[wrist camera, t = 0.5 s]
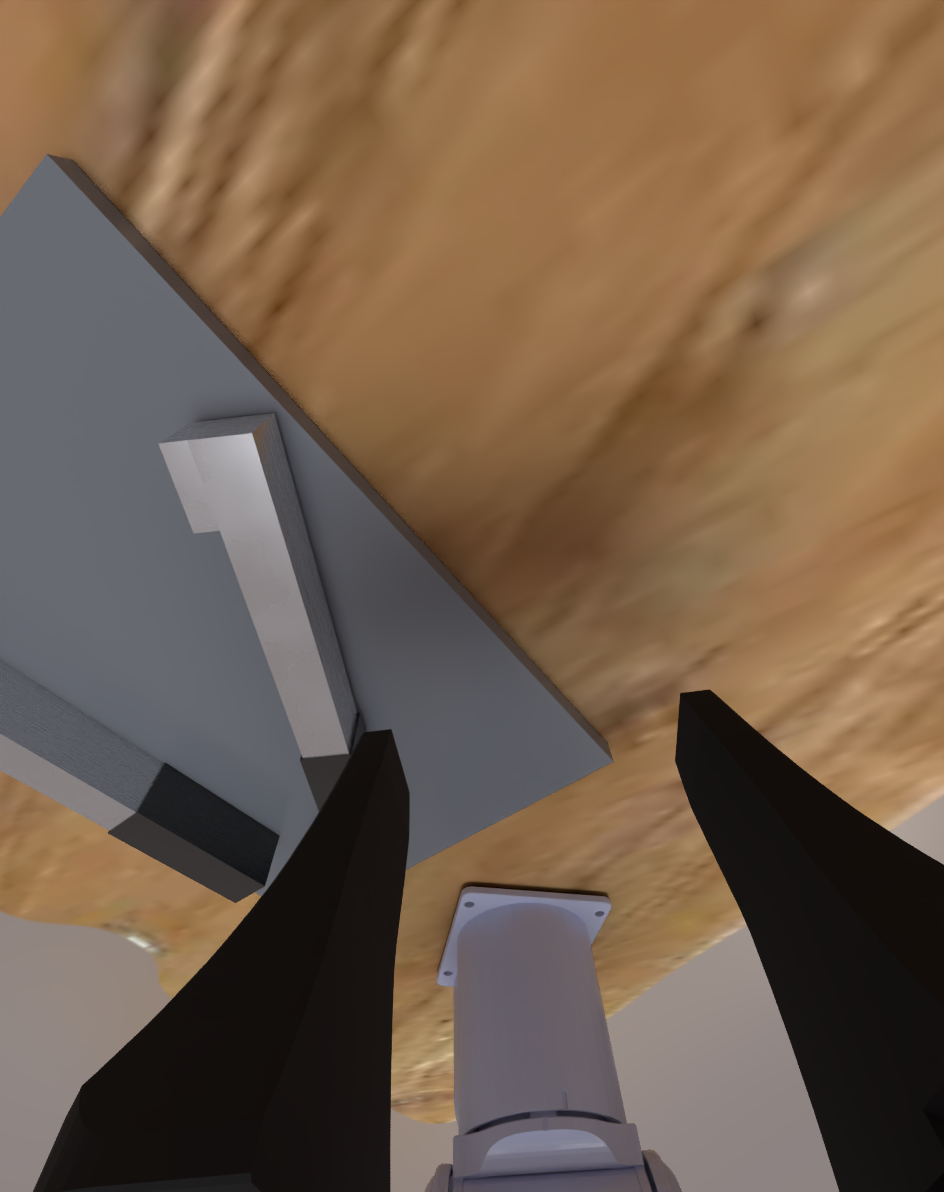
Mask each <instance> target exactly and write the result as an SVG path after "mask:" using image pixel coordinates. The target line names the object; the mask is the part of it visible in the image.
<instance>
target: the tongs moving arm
mask: <svg viewBox="0 0 944 1192" xmlns="http://www.w3.org/2000/svg"><path fill="white" fill-rule="evenodd" d="M158 444H159V447H160V449H161V452H162V454H163V457H164V459H165V462H166V464H167V467H168V469H169V472H170V475H171V477H172V480H173V482H174V485H175V487H176V490H177V492H178V495H179V498H180V500H181V503H182V505H183V508H184V510H185V513H186V515H187V518H188V520H189V523H190V526H191V528H192V531H193V533H203V532H212V531H220V533H221V536H222V538H223V541H224V544H225V547H226V549H227V552H228V555H229V557H230V560H231V563H232V566H233V568H234V571H235V574H236V577H237V579H238V582H239V585H240V588H241V590H242V593H243V596H244V599H245V601H246V604H247V607H248V610H249V612H250V615H251V618H252V620H253V623H254V626H255V629H256V631H257V634H258V637H259V640H260V642H261V645H262V648H263V651H264V653H265V656H266V659H267V662H268V664H269V667H270V670H271V672H272V675H273V678H274V681H275V683H276V686H277V689H278V692H279V694H280V697H281V700H282V703H283V705H284V708H285V711H286V714H287V716H288V719H289V722H290V725H291V727H292V730H293V733H294V735H295V738H296V741H297V744H298V746H299V749H300V752H301V758H300V762H301V765H302V767H303V770H304V773H305V776H306V778H307V781H308V784H309V786H310V789H311V792H312V794H313V797H314V800H315V803H316V805H317V808H318V811H320V809H321V808H322V806H323V804H324V802H325V801H326V799H327V797H328V796H329V794H330V792H331V791H332V789H333V787H334V785H335V783H336V782H337V780H338V778H339V776H340V774H341V773H342V771H343V769H344V767H345V765H346V763H347V761H348V759H349V757H350V755H351V754H352V752H353V750H354V748H355V746H356V744H357V742H358V740H359V738H360V736H361V735H362V734H363V733H364V732H365V728H364V724H363V721H362V717H361V713H360V712H359V713H357V710H356V707H355V703H354V700H353V696H352V692H351V689H350V685H349V682H348V678H347V674H346V671H345V667H344V663H343V660H342V656H341V653H340V649H339V645H338V642H337V638H336V635H335V631H334V627H333V624H332V620H331V617H330V613H329V609H328V606H327V602H326V598H325V595H324V591H323V588H322V584H321V580H320V577H319V573H318V570H317V566H316V562H315V559H314V555H313V552H312V548H311V544H310V541H309V537H308V533H307V530H306V526H305V523H304V519H303V515H302V512H301V508H300V505H299V501H298V497H297V494H296V490H295V487H294V483H293V479H292V476H291V472H290V469H289V465H288V461H287V458H286V454H285V450H284V447H283V443H282V440H281V436H280V432H279V429H278V425H277V422H276V418H275V414H274V413H272V414H263V415H254V416H245V417H236V418H227V419H218V420H209V421H200V422H191V423H189V424H188V425H186V426H185V427H183V428H182V429H180V430H179V431H177V432H175V433H174V434H172V435H171V436H169V437H168V438H166V439H165V440H163V441H161V442H160V443H158Z"/></svg>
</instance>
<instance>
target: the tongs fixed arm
mask: <svg viewBox="0 0 944 1192" xmlns="http://www.w3.org/2000/svg"><path fill="white" fill-rule="evenodd" d="M0 771H2V772H4V773H6V774H8V775H10V776H11V777H13V778H15V779H17V780H19V781H20V782H22V783H24V784H26V785H28V786H30V787H31V788H33V789H35V790H37V791H39V792H40V793H42V794H44V795H46V796H48V797H50V798H51V799H53V800H55V801H57V802H59V803H60V804H62V805H64V806H66V807H68V808H70V809H71V810H73V811H75V812H77V813H79V814H80V815H82V816H84V817H86V818H88V819H89V820H91V821H93V822H95V823H97V824H99V825H100V826H102V827H104V828H106V829H108V830H109V832H108V834H110V835H112V836H114V837H116V838H118V839H119V840H121V841H123V842H125V843H127V844H129V845H130V846H132V847H134V848H136V849H138V850H140V851H141V852H143V853H145V854H147V855H149V856H150V857H152V858H154V859H156V860H158V861H160V862H161V863H163V864H165V865H167V866H169V867H171V868H172V869H174V870H176V871H178V872H180V873H182V874H183V875H185V876H187V877H189V878H191V879H193V880H194V881H196V882H198V883H200V884H202V885H203V886H205V887H207V888H209V889H211V890H213V891H214V892H216V893H218V894H220V895H222V896H224V897H225V898H227V899H229V900H231V901H233V902H235V903H236V902H238V901H240V900H242V899H243V898H245V897H247V896H249V895H251V894H252V893H254V892H256V891H258V890H259V889H261V888H263V887H265V884H266V881H267V878H268V874H269V871H270V867H271V864H272V861H273V857H274V854H275V850H276V847H277V844H278V840H279V837H280V835H278V834H277V833H275V832H274V831H272V830H270V829H269V828H267V827H266V826H264V825H263V824H261V823H259V822H258V821H256V820H255V819H253V818H252V817H250V816H248V815H247V814H245V813H244V812H242V811H241V810H239V809H238V808H236V807H234V806H233V805H231V804H230V803H228V802H227V801H225V800H223V799H222V798H220V797H219V796H217V795H216V794H214V793H212V792H211V791H209V790H208V789H206V788H205V787H203V786H202V785H200V784H198V783H197V782H195V781H194V780H192V779H191V778H189V777H187V776H186V775H184V774H183V773H181V772H180V771H178V770H177V769H175V768H173V767H172V766H170V765H169V764H167V763H162V762H161V761H159V760H158V759H156V758H154V757H153V756H151V755H150V754H148V753H147V752H145V751H143V750H142V749H140V748H139V747H137V746H136V745H134V744H132V743H131V742H129V741H128V740H126V739H125V738H123V737H121V736H120V735H118V734H117V733H115V732H114V731H112V730H110V729H109V728H107V727H106V726H104V725H103V724H101V723H99V722H98V721H96V720H95V719H93V718H92V717H90V716H88V715H87V714H85V713H84V712H82V711H81V710H79V709H77V708H76V707H74V706H73V705H71V704H70V703H68V702H66V701H65V700H63V699H62V698H60V697H59V696H57V695H56V694H54V693H52V692H51V691H49V690H48V689H46V688H45V687H43V686H41V685H40V684H38V683H37V682H35V681H34V680H32V679H30V678H29V677H27V676H26V675H24V674H23V673H21V672H19V671H18V670H16V669H15V668H13V667H12V666H10V665H8V664H7V663H5V662H4V661H2V660H1V659H0Z"/></svg>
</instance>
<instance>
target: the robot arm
mask: <svg viewBox="0 0 944 1192" xmlns="http://www.w3.org/2000/svg"><path fill="white" fill-rule="evenodd" d="M675 762H676V765H677V768H678V771H679V774H680V777H681V780H682V783H683V786H684V789H685V792H686V794H687V797H688V800H689V803H690V806H691V808H692V810H693V812H694V814H695V817H696V819H697V821H698V823H699V825H700V827H701V829H702V831H703V833H704V836H705V838H706V840H707V842H708V844H709V846H710V848H711V850H712V852H713V854H714V856H715V858H716V861H717V863H718V865H719V867H720V869H721V871H722V873H723V875H724V877H725V879H726V881H727V883H728V885H729V887H730V889H731V892H732V894H733V896H734V898H735V900H736V902H737V904H738V906H739V908H740V910H741V912H742V915H743V917H744V919H745V922H746V924H747V926H748V928H749V931H750V933H751V936H752V938H753V941H754V943H755V946H756V949H757V951H758V954H759V957H760V959H761V962H762V965H763V967H764V970H765V973H766V975H767V978H768V980H769V983H770V986H771V989H772V991H773V994H774V997H775V1000H776V1003H777V1005H778V1008H779V1011H780V1014H781V1017H782V1019H783V1022H784V1025H785V1028H786V1031H787V1033H788V1036H789V1039H790V1042H791V1044H792V1048H793V1051H794V1054H795V1056H796V1059H797V1062H798V1065H799V1068H800V1071H801V1074H802V1077H803V1080H804V1083H805V1086H806V1089H807V1092H808V1095H809V1098H810V1101H811V1104H812V1107H813V1110H814V1113H815V1116H816V1119H817V1122H818V1125H819V1128H820V1132H821V1134H822V1138H823V1141H824V1144H825V1147H826V1150H827V1153H828V1157H829V1160H830V1163H831V1166H832V1169H833V1172H834V1176H835V1179H836V1182H837V1185H838V1188H839V1192H944V865H943V864H941V863H940V862H938V861H936V860H935V859H933V858H931V857H929V856H928V855H926V854H924V853H923V852H921V851H920V850H918V849H916V848H914V847H913V846H911V845H910V844H908V843H906V842H905V841H903V840H902V839H900V838H899V837H897V836H896V835H894V834H893V833H891V832H889V831H888V830H886V829H885V828H883V827H882V826H880V825H879V824H877V823H876V822H874V821H873V820H871V819H870V818H868V817H867V816H865V815H864V814H862V813H861V812H859V811H858V810H856V809H855V808H854V807H852V806H851V805H849V804H848V803H847V802H845V801H844V800H842V799H841V798H840V797H838V796H837V795H836V794H834V793H833V792H832V791H830V790H829V789H828V788H826V787H825V786H824V785H822V784H821V783H820V782H818V781H817V780H816V779H815V778H813V777H812V776H811V775H809V774H808V773H807V772H806V771H804V770H803V769H802V768H801V767H799V766H798V765H797V764H796V763H794V762H793V761H792V760H791V759H790V758H788V757H787V756H786V755H785V754H783V753H782V752H781V751H780V750H779V749H777V748H776V747H775V746H774V745H773V744H771V743H770V742H769V741H768V740H767V739H765V738H764V737H763V736H762V735H761V734H760V733H759V732H757V731H756V730H755V729H754V728H753V727H752V726H750V725H749V724H748V723H747V722H746V721H745V720H744V719H743V718H741V717H740V716H739V715H738V714H737V713H736V712H735V711H734V710H732V709H731V708H730V707H729V706H728V705H727V704H726V703H725V702H724V701H722V700H721V699H720V698H719V697H718V696H717V695H716V694H714V693H713V692H712V691H711V690H702V691H694V692H686V693H680V705H679V718H678V731H677V744H676V757H675ZM409 826H410V792H409V788H408V785H407V781H406V778H405V774H404V771H403V767H402V764H401V760H400V757H399V753H398V750H397V747H396V743H395V740H394V736H393V733H392V729H387V730H379V731H371V732H364V733H363V734H362V735H361V736H360V738H359V740H358V742H357V744H356V746H355V748H354V750H353V752H352V754H351V755H350V757H349V759H348V761H347V763H346V765H345V767H344V769H343V771H342V773H341V774H340V776H339V778H338V780H337V782H336V783H335V785H334V787H333V789H332V791H331V792H330V794H329V796H328V797H327V799H326V801H325V802H324V804H323V806H322V808H321V809H320V811H319V813H318V814H317V816H316V818H315V819H314V821H313V823H312V824H311V826H310V827H309V829H308V830H307V832H306V833H305V835H304V837H303V838H302V840H301V841H300V843H299V844H298V846H297V847H296V849H295V850H294V852H293V853H292V855H291V856H290V858H289V859H288V861H287V862H286V864H285V865H284V867H283V868H282V869H281V871H280V872H279V874H278V875H277V876H276V878H275V879H274V881H273V882H272V883H271V885H270V886H269V887H268V889H267V890H266V891H265V893H264V894H263V895H262V896H261V898H260V899H259V900H258V902H257V903H256V904H255V906H254V907H253V908H252V909H251V911H250V912H249V913H248V914H247V916H246V917H245V918H244V919H243V920H242V922H241V923H240V924H239V925H238V926H237V928H236V929H235V930H234V931H233V933H232V934H231V935H230V936H229V937H228V939H227V940H226V941H225V942H224V943H223V944H222V946H221V947H220V948H219V949H218V950H217V951H216V953H215V954H214V955H213V956H212V957H211V958H210V959H209V960H208V962H207V963H206V964H205V965H204V966H203V967H202V968H201V969H200V970H199V971H198V972H197V973H196V974H195V975H194V976H193V978H192V979H191V980H190V981H189V982H188V983H187V984H186V985H185V986H184V987H183V988H182V989H181V990H180V991H179V992H178V993H177V995H176V996H175V997H174V998H173V999H172V1000H171V1001H170V1002H169V1003H168V1004H167V1005H166V1006H165V1008H163V1009H162V1010H161V1011H160V1012H159V1013H158V1014H157V1016H155V1017H154V1018H153V1019H152V1020H151V1021H150V1022H149V1023H148V1024H147V1025H146V1026H145V1027H144V1028H143V1029H142V1030H141V1031H140V1032H139V1033H138V1034H137V1035H136V1036H135V1037H134V1038H133V1039H132V1040H130V1041H129V1042H128V1043H127V1044H126V1045H125V1046H124V1047H123V1048H122V1049H121V1050H120V1051H119V1052H118V1053H117V1054H116V1055H115V1056H114V1057H113V1058H111V1059H110V1060H109V1061H108V1062H107V1063H106V1064H105V1065H104V1066H103V1067H102V1068H101V1069H100V1070H99V1071H98V1072H97V1073H96V1074H94V1075H93V1076H92V1077H91V1078H90V1079H89V1080H88V1081H87V1082H86V1083H84V1084H83V1085H82V1087H81V1089H80V1091H79V1093H78V1095H77V1097H76V1099H75V1101H74V1103H73V1105H72V1107H71V1108H70V1110H69V1112H68V1114H67V1116H66V1118H65V1120H64V1123H63V1125H62V1127H61V1129H60V1132H59V1134H58V1136H57V1138H56V1141H55V1143H54V1145H53V1147H52V1150H51V1152H50V1154H49V1156H48V1159H47V1161H46V1163H45V1166H44V1168H43V1170H42V1172H41V1175H40V1177H39V1179H38V1181H37V1184H36V1186H35V1188H34V1190H33V1192H390V1115H391V1054H392V1015H393V987H394V966H395V955H396V944H397V936H398V928H399V920H400V912H401V904H402V896H403V888H404V880H405V871H406V863H407V855H408V846H409ZM611 907H612V906H611V902H610V899H609V898H607V897H604V896H593V895H580V894H566V893H553V892H540V891H526V890H513V889H500V888H486V887H473V886H471V887H466V888H464V889H463V890H462V891H461V894H460V898H459V901H458V905H457V908H456V912H455V915H454V918H453V922H452V925H451V929H450V932H449V936H448V939H447V942H446V946H445V949H444V953H443V956H442V960H441V963H440V966H439V970H438V973H437V983H438V984H439V985H441V986H454V1106H455V1114H456V1120H457V1123H458V1127H459V1135H457V1136H454V1137H453V1165H452V1164H441V1165H439V1166H438V1167H437V1169H436V1172H435V1175H434V1176H433V1177H432V1179H431V1180H430V1182H429V1183H428V1185H427V1187H426V1189H425V1192H682V1191H681V1188H680V1186H679V1184H678V1181H677V1179H676V1177H675V1175H674V1174H673V1172H672V1171H671V1170H670V1169H669V1168H668V1166H667V1165H666V1164H665V1163H664V1162H663V1161H662V1160H661V1158H660V1156H659V1155H658V1154H657V1153H656V1152H655V1151H654V1150H644V1151H641V1146H640V1142H639V1137H638V1132H637V1128H636V1125H635V1124H627V1122H626V1117H625V1111H624V1107H623V1101H622V1097H621V1092H620V1087H619V1082H618V1077H617V1072H616V1067H615V1063H614V1058H613V1052H612V1047H611V1042H610V1037H609V1033H608V1028H607V1023H606V1018H605V1013H604V1008H603V1003H602V998H601V993H600V988H599V983H598V979H597V974H596V969H595V964H594V959H593V954H592V949H591V945H592V943H593V941H594V939H595V938H596V936H597V934H598V932H599V930H600V928H601V926H602V925H603V923H604V921H605V919H606V917H607V915H608V913H609V912H610V910H611Z"/></svg>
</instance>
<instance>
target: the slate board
mask: <svg viewBox="0 0 944 1192" xmlns="http://www.w3.org/2000/svg"><path fill="white" fill-rule="evenodd" d="M272 413H274V414H275V418H276V422H277V425H278V429H279V432H280V436H281V440H282V443H283V447H284V450H285V454H286V458H287V461H288V465H289V469H290V472H291V476H292V479H293V483H294V487H295V490H296V494H297V497H298V501H299V505H300V508H301V512H302V515H303V519H304V523H305V526H306V530H307V533H308V537H309V541H310V544H311V548H312V552H313V555H314V559H315V562H316V566H317V570H318V573H319V577H320V580H321V584H322V588H323V591H324V595H325V598H326V602H327V606H328V609H329V613H330V617H331V620H332V624H333V627H334V631H335V635H336V638H337V642H338V645H339V649H340V653H341V656H342V660H343V663H344V667H345V671H346V674H347V678H348V682H349V685H350V689H351V692H352V696H353V700H354V703H355V707H356V710H357V713H359V712H360V713H361V717H362V721H363V724H364V728H365V732H371V731H379V730H387V729H392V733H393V736H394V740H395V743H396V747H397V750H398V753H399V757H400V760H401V764H402V767H403V771H404V774H405V778H406V781H407V785H408V788H409V792H410V826H409V846H408V855H407V863H406V869H408V868H410V867H412V866H414V865H416V864H418V863H419V862H421V861H423V860H425V859H427V858H429V857H431V856H433V855H435V854H437V853H439V852H441V851H443V850H444V849H446V848H448V847H450V846H452V845H454V844H456V843H458V842H460V841H462V840H464V839H466V838H467V837H469V836H471V835H473V834H475V833H477V832H479V831H481V830H483V829H485V828H487V827H489V826H491V825H492V824H494V823H496V822H498V821H500V820H502V819H504V818H506V817H508V816H510V815H512V814H514V813H516V812H517V811H519V810H521V809H523V808H525V807H527V806H529V805H531V804H533V803H535V802H537V801H539V800H541V799H542V798H544V797H546V796H548V795H550V794H552V793H554V792H556V791H558V790H560V789H562V788H564V787H566V786H567V785H569V784H571V783H573V782H575V781H577V780H579V779H581V778H583V777H585V776H587V775H589V774H591V773H592V772H594V771H596V770H598V769H600V768H602V767H604V766H606V765H608V764H610V763H612V762H613V758H612V755H611V752H610V749H609V746H608V743H607V742H606V741H605V740H604V739H603V738H602V737H601V736H600V735H599V734H598V732H597V731H596V730H595V729H594V728H593V727H592V726H591V725H590V724H589V723H588V722H587V720H586V719H585V718H584V717H583V716H582V715H581V714H580V713H579V712H578V711H577V710H576V708H575V707H574V706H573V705H572V704H571V703H570V702H569V701H568V700H567V699H566V698H565V696H564V695H563V694H562V693H561V692H560V691H559V690H558V689H557V688H556V687H555V686H554V684H553V683H552V682H551V681H550V680H549V679H548V678H547V677H546V676H545V675H544V674H543V672H542V671H541V670H540V669H539V668H538V667H537V666H536V665H535V664H534V663H533V662H532V660H531V659H530V658H529V657H528V656H527V655H526V654H525V653H524V652H523V651H522V650H521V648H520V647H519V646H518V645H517V644H516V643H515V642H514V641H513V640H512V639H511V638H510V637H509V635H508V634H507V633H506V632H505V631H504V630H503V629H502V628H501V627H500V626H499V625H498V623H497V622H496V621H495V620H494V619H493V618H492V617H491V616H490V615H489V614H488V613H487V611H486V610H485V609H484V608H483V607H482V606H481V605H480V604H479V603H478V602H477V601H476V599H475V598H474V597H473V596H472V595H471V594H470V593H469V592H468V591H467V590H466V589H465V587H464V586H463V585H462V584H461V583H460V582H459V581H458V580H457V579H456V578H455V577H454V575H453V574H452V573H451V572H450V571H449V570H448V569H447V568H446V567H445V566H444V565H443V563H442V562H441V561H440V560H439V559H438V558H437V557H436V556H435V555H434V554H433V553H432V551H431V550H430V549H429V548H428V547H427V546H426V545H425V544H424V543H423V542H422V541H421V540H420V538H419V537H418V536H417V535H416V534H415V533H414V532H413V531H412V530H411V529H410V528H409V526H408V525H407V524H406V523H405V522H404V521H403V520H402V519H401V518H400V517H399V516H398V514H397V513H396V512H395V511H394V510H393V509H392V508H391V507H390V506H389V505H388V504H387V502H386V501H385V500H384V499H383V498H382V497H381V496H380V495H379V494H378V493H377V492H376V490H375V489H374V488H373V487H372V486H371V485H370V484H369V483H368V482H367V481H366V480H365V478H364V477H363V476H362V475H361V474H360V473H359V472H358V471H357V470H356V469H355V468H354V466H353V465H352V464H351V463H350V462H349V461H348V460H347V459H346V458H345V457H344V456H343V454H342V453H341V452H340V451H339V450H338V449H337V448H336V447H335V446H334V445H333V444H332V443H331V441H330V440H329V439H328V438H327V437H326V436H325V435H324V434H323V433H322V432H321V431H320V429H319V428H318V427H317V426H316V425H315V424H314V423H313V422H312V421H311V420H310V419H309V417H308V416H307V415H306V414H305V413H304V412H303V411H302V410H301V409H300V408H299V407H298V405H297V404H296V403H295V402H294V401H293V400H292V399H291V398H290V397H289V396H288V395H287V393H286V392H285V391H284V390H283V389H282V388H281V387H280V386H279V385H278V384H277V383H276V381H275V380H274V379H273V378H272V377H271V376H270V375H269V374H268V373H267V372H266V371H265V369H264V368H263V367H262V366H261V365H260V364H259V363H258V362H257V361H256V360H255V359H254V357H253V356H252V355H251V354H250V353H249V352H248V351H247V350H246V349H245V348H244V347H243V346H242V344H241V343H240V342H239V341H238V340H237V339H236V338H235V337H234V336H233V335H232V334H231V332H230V331H229V330H228V329H227V328H226V327H225V326H224V325H223V324H222V323H221V322H220V320H219V319H218V318H217V317H216V316H215V315H214V314H213V313H212V312H211V311H210V310H209V308H208V307H207V306H206V305H205V304H204V303H203V302H202V301H201V300H200V299H199V298H198V296H197V295H196V294H195V293H194V292H193V291H192V290H191V289H190V288H189V287H188V286H187V284H186V283H185V282H184V281H183V280H182V279H181V278H180V277H179V276H178V275H177V274H176V272H175V271H174V270H173V269H172V268H171V267H170V266H169V265H168V264H167V263H166V262H165V260H164V259H163V258H162V257H161V256H160V255H159V254H158V253H157V252H156V251H155V250H154V249H153V247H152V246H151V245H150V244H149V243H148V242H147V241H146V240H145V239H144V238H143V237H142V235H141V234H140V233H139V232H138V231H137V230H136V229H135V228H134V227H133V226H132V225H131V223H130V222H129V221H128V220H127V219H126V218H125V217H124V216H123V215H122V214H121V213H120V211H119V210H118V209H117V208H116V207H115V206H114V205H113V204H112V203H111V202H110V201H109V199H108V198H107V197H106V196H105V195H104V194H103V193H102V192H101V191H100V190H99V189H98V187H97V186H96V185H95V184H94V183H93V182H92V181H91V180H90V179H89V178H88V177H87V175H86V174H85V173H84V172H83V171H82V170H81V169H80V168H79V167H78V166H77V165H76V163H75V162H74V161H73V160H69V159H65V158H61V157H57V156H53V155H49V154H47V155H46V156H45V157H44V159H43V160H42V161H41V163H40V164H39V165H38V167H37V168H36V170H35V171H34V172H33V174H32V175H31V176H30V178H29V179H28V180H27V182H26V183H25V184H24V186H23V187H22V188H21V190H20V191H19V193H18V194H17V195H16V197H15V198H14V199H13V201H12V202H11V203H10V205H9V206H8V207H7V209H6V210H5V211H4V213H3V214H2V216H1V217H0V659H1V660H2V661H4V662H5V663H7V664H8V665H10V666H12V667H13V668H15V669H16V670H18V671H19V672H21V673H23V674H24V675H26V676H27V677H29V678H30V679H32V680H34V681H35V682H37V683H38V684H40V685H41V686H43V687H45V688H46V689H48V690H49V691H51V692H52V693H54V694H56V695H57V696H59V697H60V698H62V699H63V700H65V701H66V702H68V703H70V704H71V705H73V706H74V707H76V708H77V709H79V710H81V711H82V712H84V713H85V714H87V715H88V716H90V717H92V718H93V719H95V720H96V721H98V722H99V723H101V724H103V725H104V726H106V727H107V728H109V729H110V730H112V731H114V732H115V733H117V734H118V735H120V736H121V737H123V738H125V739H126V740H128V741H129V742H131V743H132V744H134V745H136V746H137V747H139V748H140V749H142V750H143V751H145V752H147V753H148V754H150V755H151V756H153V757H154V758H156V759H158V760H159V761H161V762H162V763H167V764H169V765H170V766H172V767H173V768H175V769H177V770H178V771H180V772H181V773H183V774H184V775H186V776H187V777H189V778H191V779H192V780H194V781H195V782H197V783H198V784H200V785H202V786H203V787H205V788H206V789H208V790H209V791H211V792H212V793H214V794H216V795H217V796H219V797H220V798H222V799H223V800H225V801H227V802H228V803H230V804H231V805H233V806H234V807H236V808H238V809H239V810H241V811H242V812H244V813H245V814H247V815H248V816H250V817H252V818H253V819H255V820H256V821H258V822H259V823H261V824H263V825H264V826H266V827H267V828H269V829H270V830H272V831H274V832H275V833H277V834H278V835H280V837H279V840H278V844H277V847H276V850H275V854H274V857H273V861H272V864H271V867H270V871H269V874H268V878H267V881H266V884H265V887H263V888H261V889H259V890H258V891H256V892H255V893H257V894H259V895H261V896H262V895H263V894H264V893H265V891H266V890H267V889H268V887H269V886H270V885H271V883H272V882H273V881H274V879H275V878H276V876H277V875H278V874H279V872H280V871H281V869H282V868H283V867H284V865H285V864H286V862H287V861H288V859H289V858H290V856H291V855H292V853H293V852H294V850H295V849H296V847H297V846H298V844H299V843H300V841H301V840H302V838H303V837H304V835H305V833H306V832H307V830H308V829H309V827H310V826H311V824H312V823H313V821H314V819H315V818H316V816H317V814H318V813H319V811H318V808H317V805H316V803H315V800H314V797H313V794H312V792H311V789H310V786H309V784H308V781H307V778H306V776H305V773H304V770H303V767H302V765H301V762H300V758H301V752H300V749H299V746H298V744H297V741H296V738H295V735H294V733H293V730H292V727H291V725H290V722H289V719H288V716H287V714H286V711H285V708H284V705H283V703H282V700H281V697H280V694H279V692H278V689H277V686H276V683H275V681H274V678H273V675H272V672H271V670H270V667H269V664H268V662H267V659H266V656H265V653H264V651H263V648H262V645H261V642H260V640H259V637H258V634H257V631H256V629H255V626H254V623H253V620H252V618H251V615H250V612H249V610H248V607H247V604H246V601H245V599H244V596H243V593H242V590H241V588H240V585H239V582H238V579H237V577H236V574H235V571H234V568H233V566H232V563H231V560H230V557H229V555H228V552H227V549H226V547H225V544H224V541H223V538H222V536H221V533H220V531H212V532H203V533H193V531H192V528H191V526H190V523H189V520H188V518H187V515H186V513H185V510H184V508H183V505H182V503H181V500H180V498H179V495H178V492H177V490H176V487H175V485H174V482H173V480H172V477H171V475H170V472H169V469H168V467H167V464H166V462H165V459H164V457H163V454H162V452H161V449H160V447H159V444H158V443H160V442H161V441H163V440H165V439H166V438H168V437H169V436H171V435H172V434H174V433H175V432H177V431H179V430H180V429H182V428H183V427H185V426H186V425H188V424H189V423H191V422H200V421H209V420H218V419H227V418H236V417H245V416H254V415H263V414H272Z"/></svg>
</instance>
